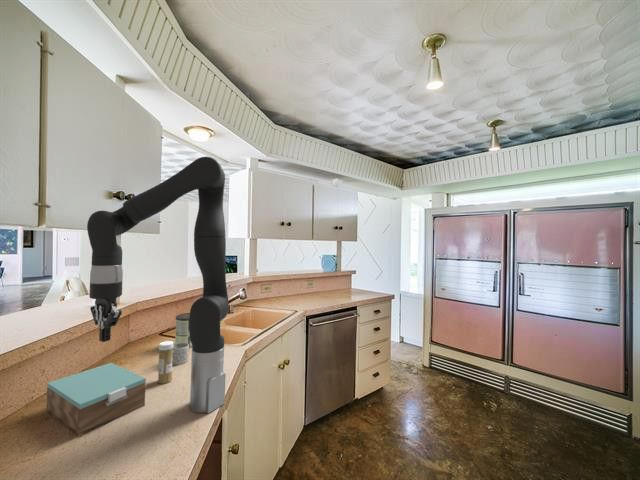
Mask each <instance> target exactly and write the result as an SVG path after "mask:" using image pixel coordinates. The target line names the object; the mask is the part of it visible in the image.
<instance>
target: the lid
mask: <svg viewBox="0 0 640 480" xmlns="http://www.w3.org/2000/svg"><path fill="white" fill-rule="evenodd" d="M146 381H147V380H146V378H145V377H144V376H141V375H139V374H137V373H134V372H133V371H130V370H128V369H126V368H125V367H124V368H123V367H121V366H119V365H117V364H116V363H113V362H109V363H107V364H102V365H99V366H97V367H93V368H90V369H86V370H84V371H81V372H78V373H74V374H72V375H68V376H65V377H62V378H59V379H55V380H53V381H50V382H47V387H48V388H49V389H51V390H52V391H54V392H55V393H57V394H58V395H60V396H61V397H63V398H64V399H66V400H67V401H68V402H70V403H71V404H73V405H74V406H76V407H77V408H79V409H82V408H85V407H87V406H89V405H92V404H94V403H97V402H99V401H102V400H104V399H106V398H108V401H109V402H111V401H114V400H116V399H118V398H121V397H123V396H125V395H126V390H128V389H131V388H133V387H136V386H138V385H140V384H143V383H145V382H146ZM145 384H146V383H145ZM47 387H46V388H47Z"/></svg>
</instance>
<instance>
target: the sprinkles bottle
mask: <svg viewBox="0 0 640 480" xmlns="http://www.w3.org/2000/svg"><path fill="white" fill-rule="evenodd" d="M173 344H174V341H172V340H166V341H162V342H160V343H159V344H158V366H157V367H158V368H157V369H158V370H157V373H158V374H157V375H158V378H157V379H158V380H157V383H158V384H161V385H162V384H163V385H164V384H168V383H170V382H172V380H173V365H172V359H173V358H172V355H173Z"/></svg>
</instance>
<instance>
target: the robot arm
mask: <svg viewBox="0 0 640 480" xmlns="http://www.w3.org/2000/svg"><path fill="white" fill-rule="evenodd" d="M225 182H226V175H225V172H224V169H223V167H222V164H220V163H219V162H218V161H217V160H216V159H214V158H213V157H211V156H201V157H198V158H197V159H195V160H193V161H192V162H191V163H189V164H188V165H187V166H185V167H184V168H182V169H181V170H180V171H178V172H176V173H175V174H174V175H172V176H170V177H169V178H168V179H166V180H164V181H162V182H161V183H159V184H157V185H155V186H152V187H151V188H149V189H147V190H145V191H143V192H141V193H138V194H136V195H135V196H133V197H130V198H129V199H127V200H126V201H124V202H123V203H122V206H121V207H120V208H118V209H117V210H115V211H108V210H96V211H95V212H93V213H92V214H91V215H89V218H88V220H87V224H86V225H87V226H86V227H87V228H86V229H87V235H88V240H89V244H90V247H91V250H92V251H91V266H90V267H91V268H90V271H89V272H90V273H89V292H88V294H89V298H90V299H92V300H95V301H94V305H93V306H90V307H89V308H90V311H91V312H90V313H91V316H92V318H93V322H94V325H95V326H97V328H98V329H99V335H98V336H99V338H98V341H99V342H102V343H105V342H109V341H110V340H111V337H112V335H111V333H112V332H111V331H112V328H113V327H114V326H115V327H116V325H117V323H118V322H119V320H120V318H121V315H122V314H123V311H122V309H119V310H118V309H117V308H118V302H117V298H120V297H121V296H122V295H123V278H124V275H123V274H124V271H123V249H122V246H121V245H119V244H118V241H117V236H120V235H123V234H125V233H126V232H128V231H129V230H131V229H133V228H134V227H135V226H138V224H139V223H141V222H143V221H145V220H147V219H150V218H151V217H153V216H155V215H157V214H159V213H161V212H162V211H164V210H166V209H167V208H168V207H170V206H171V205H172V204H173V203H174V202H175V201H177V200H178V199H180V198H181V197H183V196H185V195H187V194H188V193H190V192H194V191H196V190H197V191H198V193H197V194H198V195H197V196H198V211H197V216H196V219H195V223H194V230H193V250H194V256H195V260H196V264H197V265H198V268H199V270H200V273H201V276H202V285H203V287H202V288H203V289H202V297H200V298H198V299H196V300H195V301H194V302H193V303H192V304H191V307H190V309H189V313H190V316H189V331H190V341H191V343H192V348H191V365H190V366H191V367H190V368H191V369H190V390H189V391H190V394H189V395H190V397H189V398H190V399H189V401H190V402H189V408H190V410H191V411H193V412H194V413H198V414H199V413H203V414H204V413H207V414H210V413H211V412H213V411H215V410H217V409H218V408H220V407H221V406H223V405H224V404H225V403H226V401H225V400H226V398H225V397H226V374H227V373H226V372H224V366H225V365H224V361H225V360H224V359H225V357H224V356H225V337H224V335H222V334H221V321H222V320H224V319H225V318H226V316H227V315H228V312H229V309H230V305H229V303H230V302H229V296H228V288H227V280H226V279H227V278H226V277H227V274H226V273H227V272H226V266H227V264H226V261H227V260H226V251H227V249H226V247H227V244H226V243H227V242H226V241H227V240H226V238H227V237H226V224H225V215H224V194H225V193H224V192H225V191H224V190H225Z"/></svg>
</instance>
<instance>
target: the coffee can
mask: <svg viewBox="0 0 640 480" xmlns="http://www.w3.org/2000/svg"><path fill="white" fill-rule="evenodd" d="M189 316H190V312H184V313H179V314H177V315H176V316H175V336H174V337H175V339H174V340H175V341H174V342H175V343H174V344H176V343H188V344H189V349H192V343H191V341H190V331H189Z"/></svg>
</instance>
